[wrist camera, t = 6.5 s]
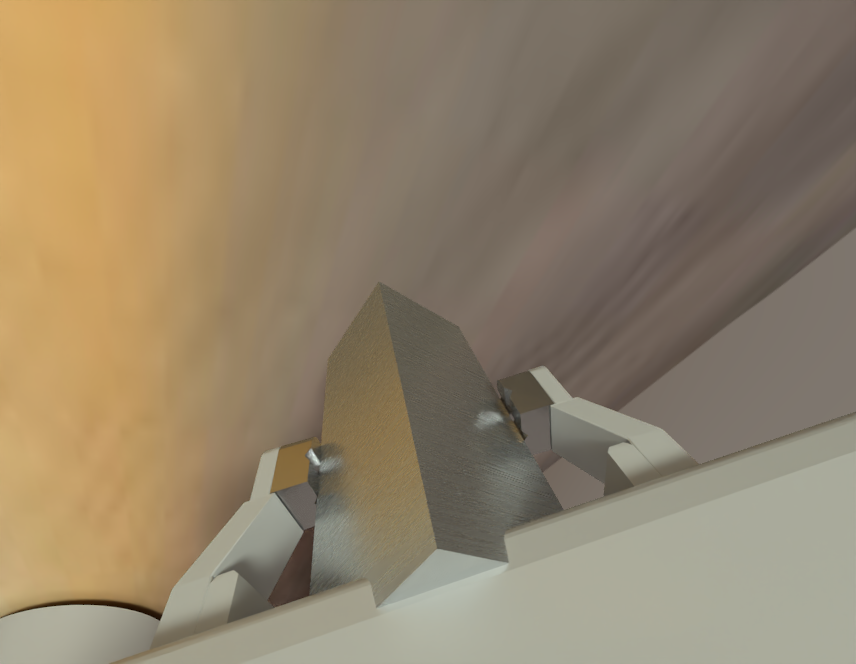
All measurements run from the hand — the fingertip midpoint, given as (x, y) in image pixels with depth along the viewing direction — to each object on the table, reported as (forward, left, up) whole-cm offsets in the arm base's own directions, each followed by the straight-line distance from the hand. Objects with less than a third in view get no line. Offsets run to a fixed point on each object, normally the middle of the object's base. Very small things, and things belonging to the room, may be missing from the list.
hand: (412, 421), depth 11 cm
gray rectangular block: (0, 0, -5) cm, 5 cm away
